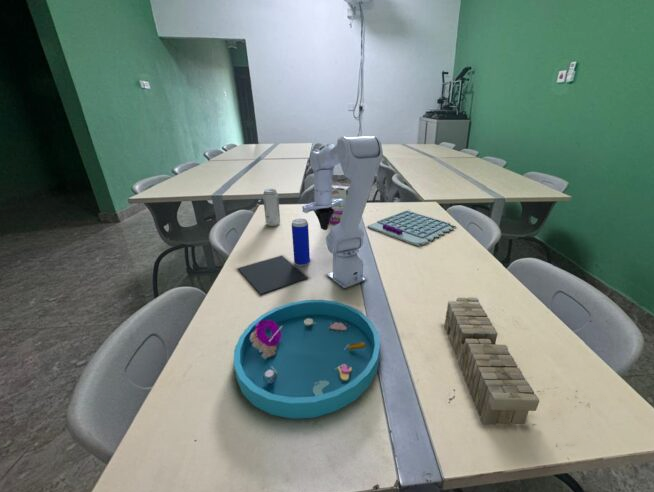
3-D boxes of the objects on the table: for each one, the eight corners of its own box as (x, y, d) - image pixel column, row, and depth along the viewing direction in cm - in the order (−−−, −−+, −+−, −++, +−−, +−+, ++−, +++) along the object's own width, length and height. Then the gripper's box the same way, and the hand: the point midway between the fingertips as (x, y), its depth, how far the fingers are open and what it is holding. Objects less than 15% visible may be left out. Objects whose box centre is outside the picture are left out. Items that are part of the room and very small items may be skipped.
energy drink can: (265, 222, 138) (261, 189, 132) (279, 220, 140) (276, 187, 134) (267, 227, 133) (263, 192, 127) (281, 225, 135) (278, 191, 129)
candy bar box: (351, 222, 142) (351, 186, 135) (347, 226, 138) (347, 189, 131) (328, 218, 145) (327, 183, 138) (323, 222, 140) (322, 186, 134)
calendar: (456, 228, 140) (457, 223, 139) (420, 247, 120) (421, 241, 119) (406, 213, 157) (406, 208, 156) (367, 227, 137) (367, 222, 136)
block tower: (442, 325, 81) (483, 433, 54) (446, 297, 77) (492, 397, 50) (472, 325, 81) (529, 433, 54) (477, 297, 78) (541, 397, 51)
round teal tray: (270, 307, 84) (268, 288, 81) (383, 318, 81) (384, 298, 79) (205, 407, 56) (199, 383, 54) (371, 429, 54) (373, 405, 51)
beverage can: (311, 259, 108) (309, 218, 102) (307, 267, 104) (305, 224, 98) (296, 258, 109) (294, 217, 103) (292, 265, 104) (289, 223, 98)
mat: (308, 278, 97) (307, 277, 97) (260, 295, 88) (260, 293, 88) (281, 256, 110) (281, 255, 110) (238, 269, 101) (237, 268, 101)
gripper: (334, 184, 109) (335, 220, 114) (296, 190, 100) (299, 229, 106) (346, 188, 104) (346, 226, 110) (308, 195, 95) (309, 236, 101)
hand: (324, 228), depth 107 cm, fingers closed
